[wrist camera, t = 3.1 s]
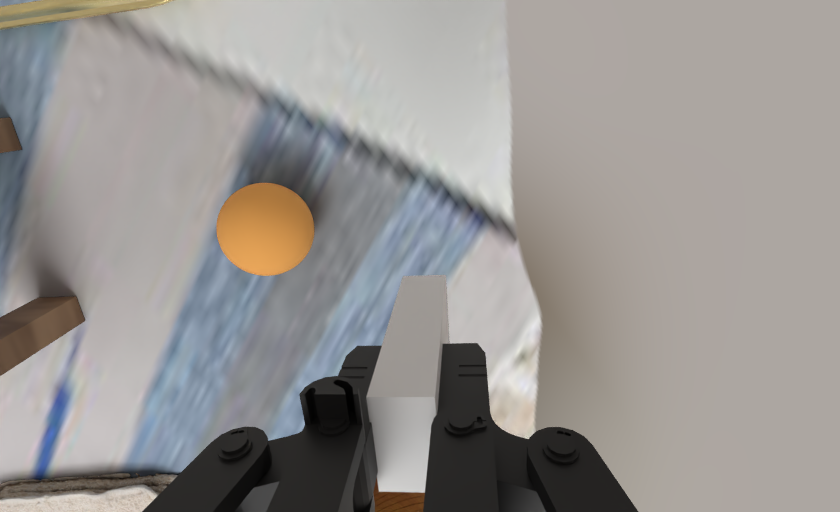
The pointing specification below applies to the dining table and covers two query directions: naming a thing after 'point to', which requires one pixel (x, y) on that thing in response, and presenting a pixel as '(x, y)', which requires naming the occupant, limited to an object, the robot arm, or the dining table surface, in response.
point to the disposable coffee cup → (398, 501)
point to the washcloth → (83, 493)
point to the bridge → (32, 303)
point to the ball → (265, 229)
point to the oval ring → (66, 10)
